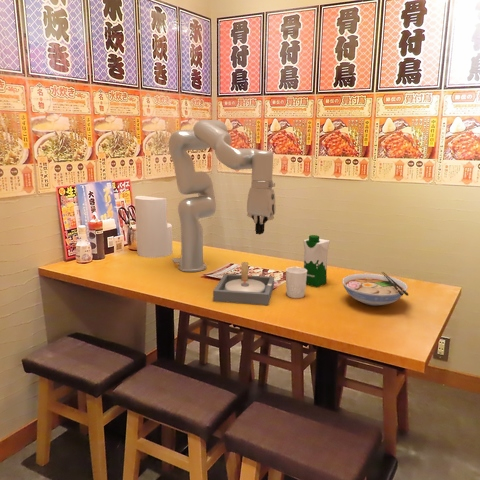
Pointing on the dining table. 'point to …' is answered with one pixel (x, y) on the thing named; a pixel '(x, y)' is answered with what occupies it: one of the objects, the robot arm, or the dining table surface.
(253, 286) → the dial
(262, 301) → the dial housing
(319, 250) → the milk carton
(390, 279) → the ramen bowl
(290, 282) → the white cup
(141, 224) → the cylinder
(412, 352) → the dining table surface
